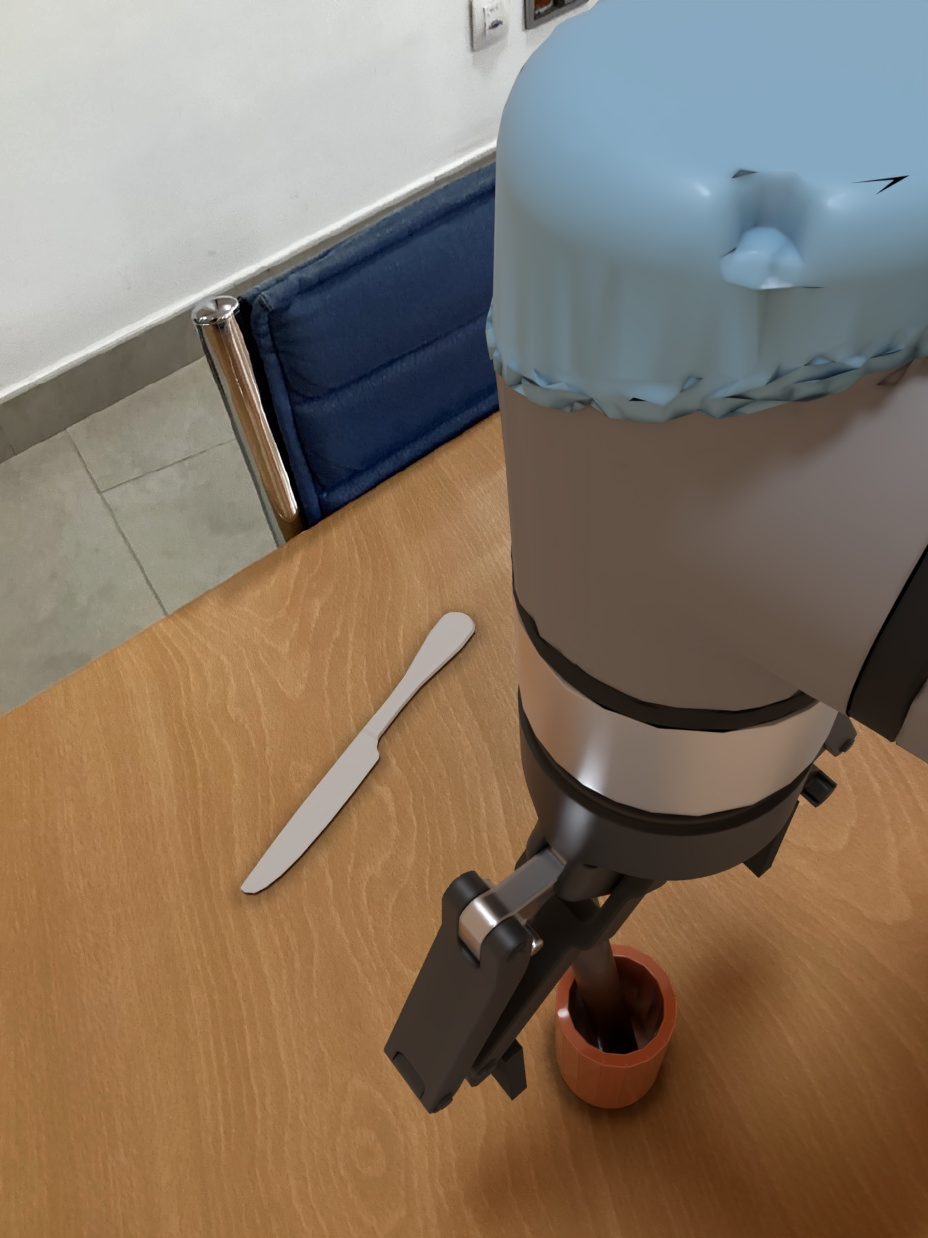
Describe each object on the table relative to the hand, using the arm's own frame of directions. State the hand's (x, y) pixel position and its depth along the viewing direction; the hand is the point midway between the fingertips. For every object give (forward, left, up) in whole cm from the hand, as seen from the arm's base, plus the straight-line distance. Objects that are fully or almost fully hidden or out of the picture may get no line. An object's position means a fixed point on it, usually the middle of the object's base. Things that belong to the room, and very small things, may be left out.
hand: (624, 952), depth 43 cm
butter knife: (+24, -1, -18) cm, 30 cm away
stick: (-1, 0, -17) cm, 17 cm away
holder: (0, 0, -18) cm, 18 cm away
